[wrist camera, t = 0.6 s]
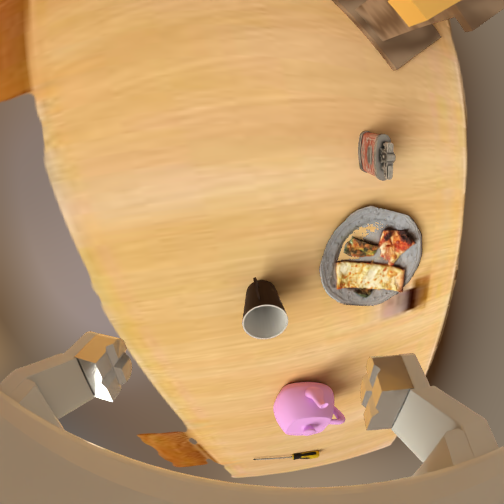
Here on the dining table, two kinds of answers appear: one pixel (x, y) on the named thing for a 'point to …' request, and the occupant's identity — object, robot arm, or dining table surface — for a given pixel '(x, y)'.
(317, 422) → the teapot
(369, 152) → the lighter
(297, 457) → the screwdriver
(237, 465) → the dining table surface
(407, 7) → the gray and orange bar
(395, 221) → the food plate
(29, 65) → the dining table surface
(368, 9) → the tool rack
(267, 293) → the coffee mug
